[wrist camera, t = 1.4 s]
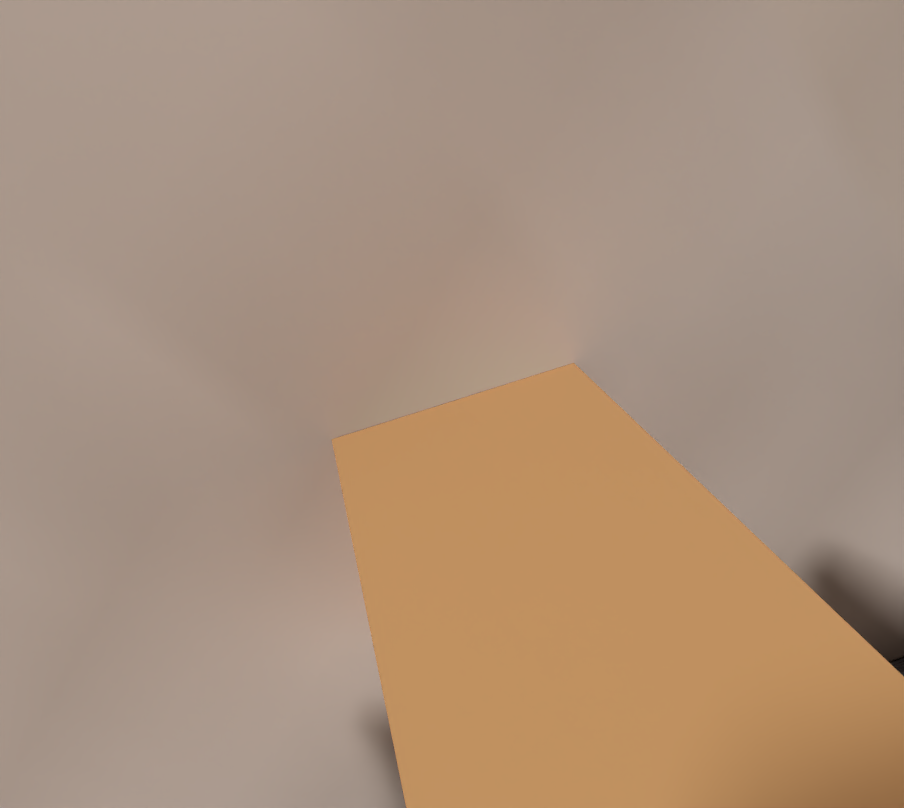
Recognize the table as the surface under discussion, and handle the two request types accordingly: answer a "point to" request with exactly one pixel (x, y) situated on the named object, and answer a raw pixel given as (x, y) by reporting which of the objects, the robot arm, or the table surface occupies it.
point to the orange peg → (597, 621)
